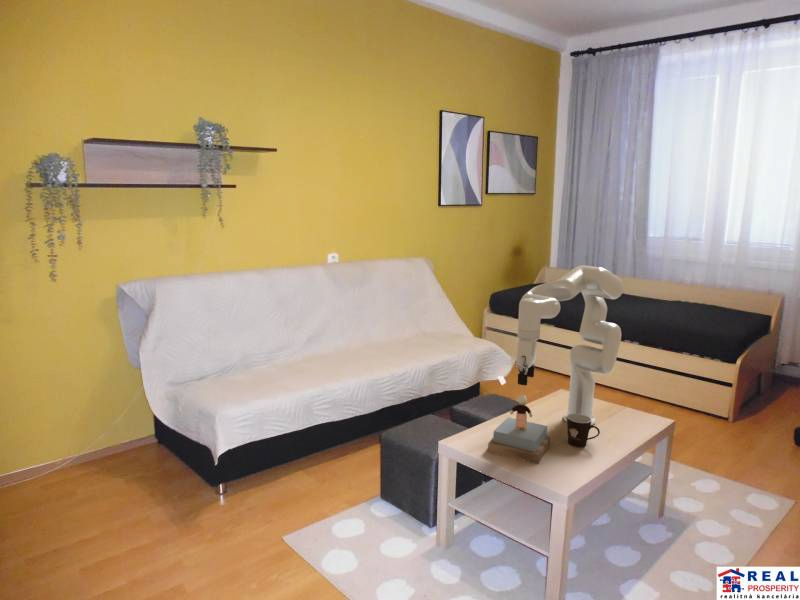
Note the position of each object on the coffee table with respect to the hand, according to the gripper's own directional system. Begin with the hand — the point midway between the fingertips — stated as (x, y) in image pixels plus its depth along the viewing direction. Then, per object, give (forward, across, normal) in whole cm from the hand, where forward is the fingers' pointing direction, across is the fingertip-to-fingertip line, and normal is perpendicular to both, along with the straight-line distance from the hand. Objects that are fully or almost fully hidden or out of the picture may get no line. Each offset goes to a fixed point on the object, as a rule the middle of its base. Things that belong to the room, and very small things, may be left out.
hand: (525, 380), depth 197 cm
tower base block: (+26, +1, -1) cm, 26 cm away
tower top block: (+22, +1, -1) cm, 22 cm away
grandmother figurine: (+18, +1, -1) cm, 18 cm away
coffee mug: (+26, -12, +18) cm, 34 cm away
